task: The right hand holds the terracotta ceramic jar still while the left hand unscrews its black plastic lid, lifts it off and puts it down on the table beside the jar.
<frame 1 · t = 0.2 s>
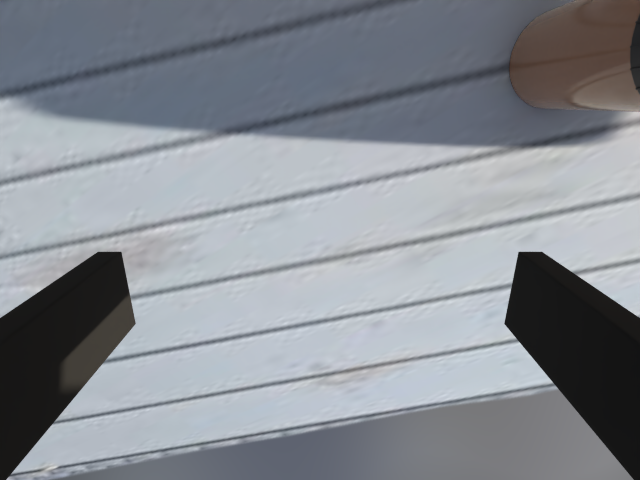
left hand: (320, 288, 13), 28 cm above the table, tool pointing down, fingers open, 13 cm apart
jar: (555, 60, 36), on the table
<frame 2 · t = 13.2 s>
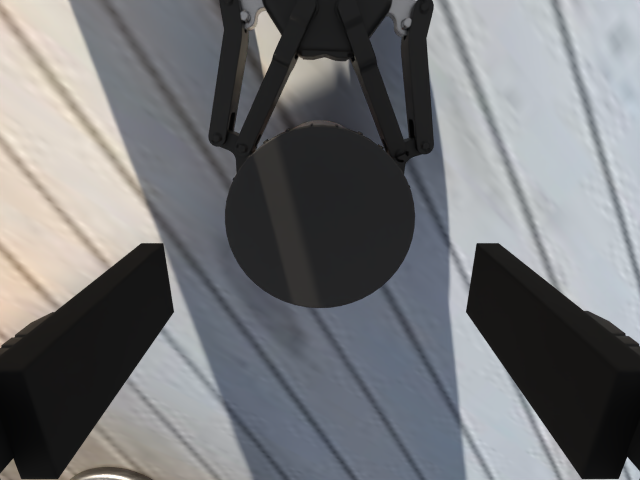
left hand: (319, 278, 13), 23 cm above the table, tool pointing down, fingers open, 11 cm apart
right hand: (317, 238, 31), fingers closed on jar, 9 cm apart
lid: (319, 223, 19), point 17 cm above the table, screwed on, not yet turned
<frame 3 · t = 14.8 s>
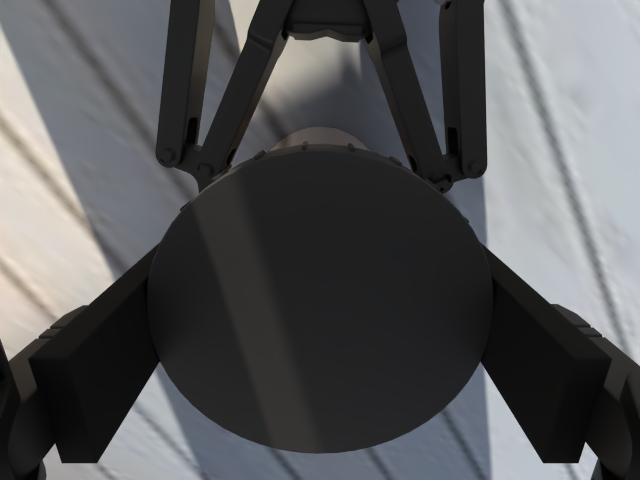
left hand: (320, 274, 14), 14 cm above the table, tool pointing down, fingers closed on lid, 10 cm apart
right hand: (317, 292, 22), fingers closed on jar, 9 cm apart
jar: (319, 190, 27), on the table, touching right hand
lid: (320, 319, 11), point 17 cm above the table, screwed on, not yet turned, touching left hand
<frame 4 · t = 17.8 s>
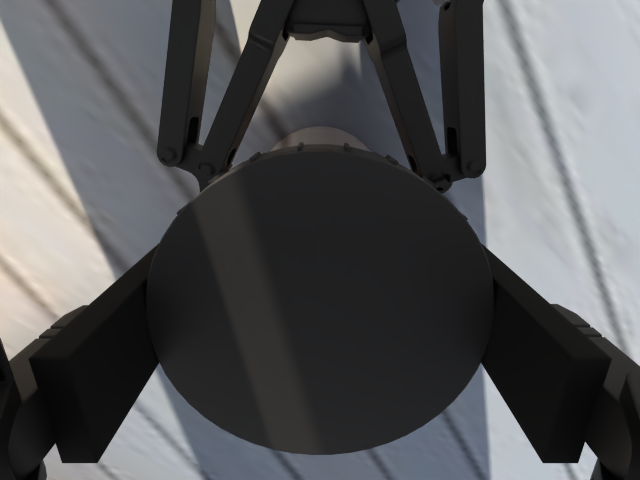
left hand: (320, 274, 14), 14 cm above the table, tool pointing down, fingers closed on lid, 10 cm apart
right hand: (317, 291, 22), fingers closed on jar, 9 cm apart
jar: (320, 189, 27), on the table, touching right hand
lid: (320, 320, 11), point 17 cm above the table, turned 73° so far, risen 0.2 cm, still on its thread, touching left hand
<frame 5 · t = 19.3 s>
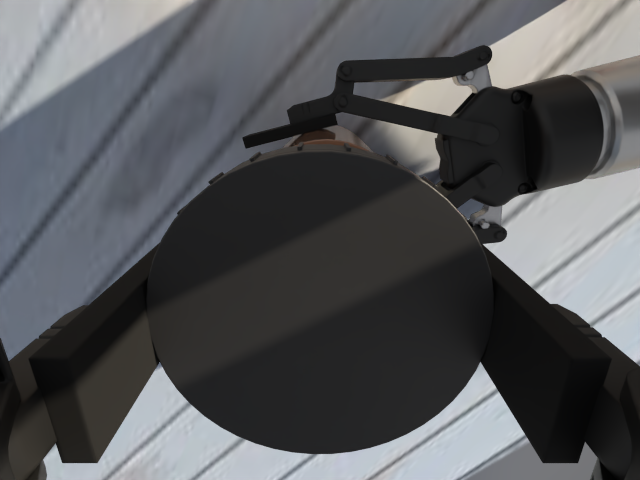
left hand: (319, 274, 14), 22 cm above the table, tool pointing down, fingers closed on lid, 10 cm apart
right hand: (266, 203, 28), fingers closed on jar, 9 cm apart
jar: (325, 173, 34), on the table, touching right hand
lid: (320, 320, 11), point 25 cm above the table, off its thread, touching left hand
when the left hand's fingers open (0 cm above the table, at t = 24.8 s): lid drops 2 cm, point 1 cm above the table.
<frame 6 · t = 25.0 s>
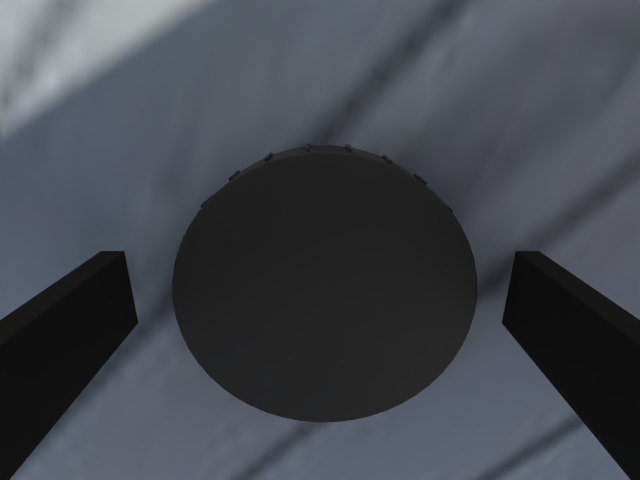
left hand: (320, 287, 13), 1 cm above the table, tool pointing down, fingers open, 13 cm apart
lid: (324, 300, 12), point 1 cm above the table, off its thread
when the right hand's fingers open (7 cm above the table, at t = 25.7 s): jar stays where it is, on the table.
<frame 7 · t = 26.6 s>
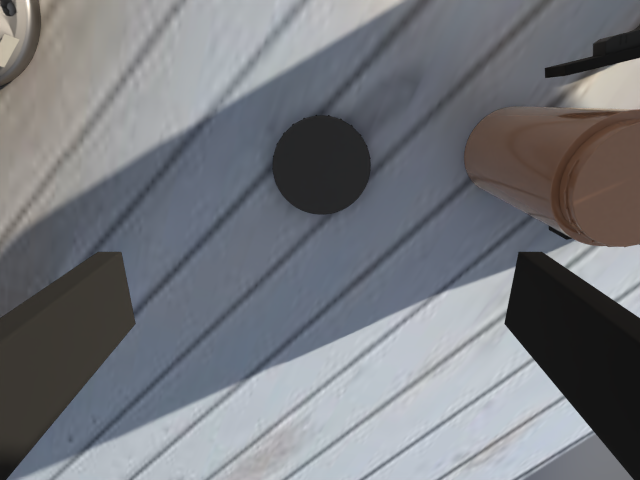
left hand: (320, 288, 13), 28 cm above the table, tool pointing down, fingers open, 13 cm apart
jar: (507, 151, 38), on the table
lid: (321, 166, 37), point 1 cm above the table, off its thread
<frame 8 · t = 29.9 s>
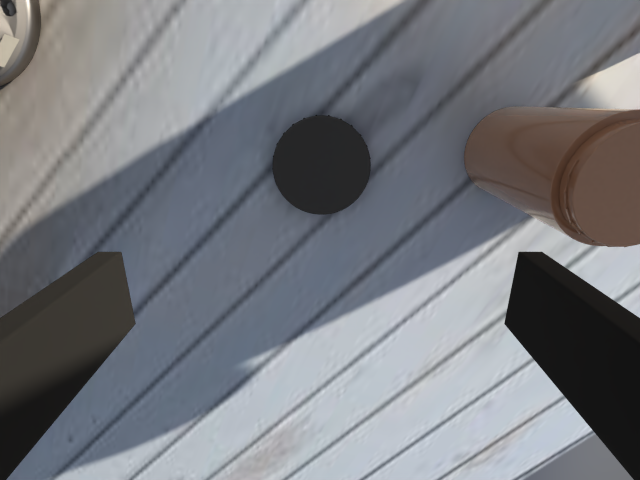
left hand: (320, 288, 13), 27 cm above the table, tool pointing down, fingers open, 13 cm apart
jar: (507, 151, 38), on the table
lid: (321, 166, 37), point 1 cm above the table, off its thread
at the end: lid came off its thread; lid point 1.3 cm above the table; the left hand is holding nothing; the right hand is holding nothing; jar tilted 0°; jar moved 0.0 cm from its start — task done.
